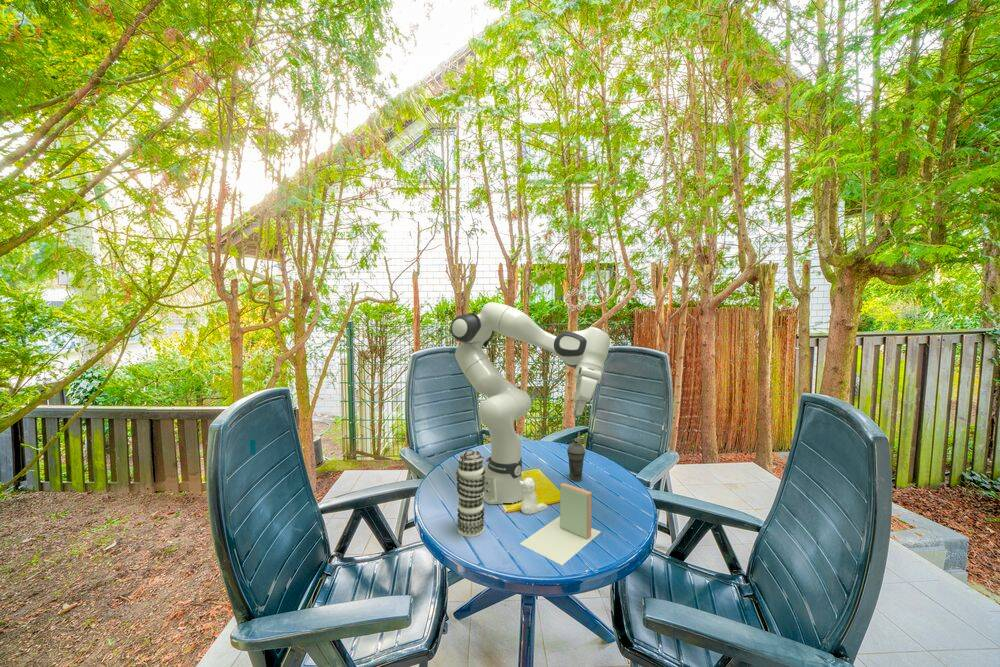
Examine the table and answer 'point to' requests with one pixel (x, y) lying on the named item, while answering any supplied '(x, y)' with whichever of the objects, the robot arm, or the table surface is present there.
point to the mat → (557, 542)
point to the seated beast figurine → (530, 498)
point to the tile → (575, 510)
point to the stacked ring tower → (470, 493)
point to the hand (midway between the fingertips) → (577, 415)
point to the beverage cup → (576, 459)
